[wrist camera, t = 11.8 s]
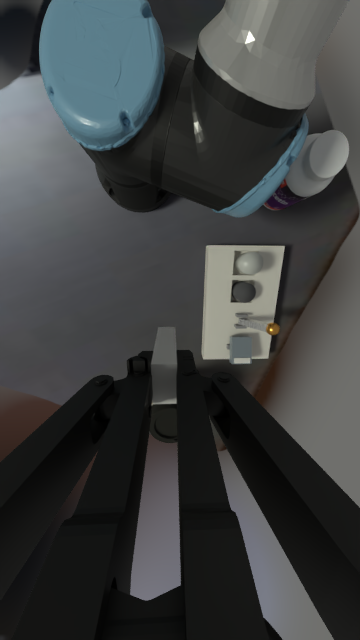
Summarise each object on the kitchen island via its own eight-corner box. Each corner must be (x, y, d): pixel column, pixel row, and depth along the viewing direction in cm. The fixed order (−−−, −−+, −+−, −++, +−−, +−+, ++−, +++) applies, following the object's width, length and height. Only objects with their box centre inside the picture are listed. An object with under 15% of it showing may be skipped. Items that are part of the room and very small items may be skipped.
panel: (206, 246, 43) (209, 244, 39) (277, 246, 44) (289, 245, 40) (201, 353, 51) (204, 362, 46) (262, 352, 51) (271, 361, 47)
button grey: (236, 252, 41) (242, 251, 37) (256, 252, 41) (264, 252, 37) (234, 273, 42) (240, 274, 38) (253, 273, 42) (262, 274, 39)
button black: (231, 281, 45) (237, 282, 41) (249, 281, 45) (257, 283, 41) (230, 299, 46) (235, 302, 42) (247, 299, 46) (254, 302, 42)
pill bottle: (249, 185, 40) (289, 146, 26) (283, 157, 39) (344, 101, 25) (268, 220, 42) (315, 200, 29) (301, 194, 41) (367, 161, 27)
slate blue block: (229, 336, 46) (232, 337, 44) (248, 336, 46) (252, 337, 44) (229, 361, 46) (232, 364, 44) (248, 361, 46) (251, 364, 44)
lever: (237, 316, 44) (277, 325, 37) (244, 314, 45) (283, 322, 39) (236, 327, 44) (275, 338, 38) (243, 324, 46) (281, 335, 40)
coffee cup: (180, 359, 51) (183, 397, 37) (194, 388, 54) (202, 435, 40) (146, 373, 52) (136, 416, 38) (162, 401, 55) (158, 451, 40)
